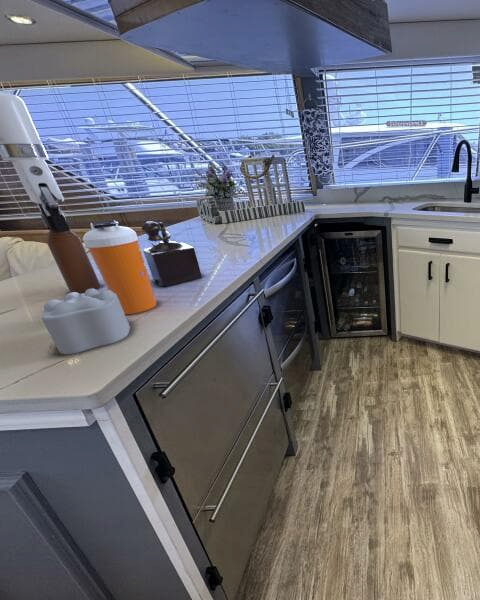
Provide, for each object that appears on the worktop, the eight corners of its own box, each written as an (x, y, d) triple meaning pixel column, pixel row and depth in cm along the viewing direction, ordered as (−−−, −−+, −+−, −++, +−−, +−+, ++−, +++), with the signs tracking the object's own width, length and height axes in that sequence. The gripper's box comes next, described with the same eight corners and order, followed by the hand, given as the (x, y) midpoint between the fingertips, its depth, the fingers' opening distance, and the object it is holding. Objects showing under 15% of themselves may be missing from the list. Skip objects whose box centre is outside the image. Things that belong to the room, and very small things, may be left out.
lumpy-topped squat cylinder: (55, 358, 56) (30, 313, 53) (66, 331, 66) (46, 292, 62) (129, 338, 62) (111, 297, 58) (130, 316, 71) (114, 279, 68)
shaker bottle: (124, 319, 70) (85, 227, 62) (108, 311, 74) (69, 224, 66) (168, 304, 77) (138, 220, 69) (151, 298, 81) (121, 217, 73)
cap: (69, 225, 83) (64, 213, 82) (47, 227, 80) (42, 215, 79) (65, 223, 86) (60, 212, 84) (44, 226, 82) (38, 214, 81)
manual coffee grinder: (150, 281, 94) (127, 218, 87) (191, 271, 102) (173, 213, 95) (165, 292, 85) (141, 223, 77) (210, 280, 92) (191, 217, 85)
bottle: (66, 295, 86) (30, 219, 78) (74, 288, 91) (41, 216, 83) (97, 290, 89) (64, 216, 81) (103, 283, 94) (73, 213, 86)
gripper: (53, 151, 74) (87, 230, 82) (39, 155, 84) (71, 226, 91) (5, 152, 69) (46, 236, 76) (-4, 155, 78) (33, 230, 85)
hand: (59, 230), depth 83 cm, fingers closed on cap, 4 cm apart
